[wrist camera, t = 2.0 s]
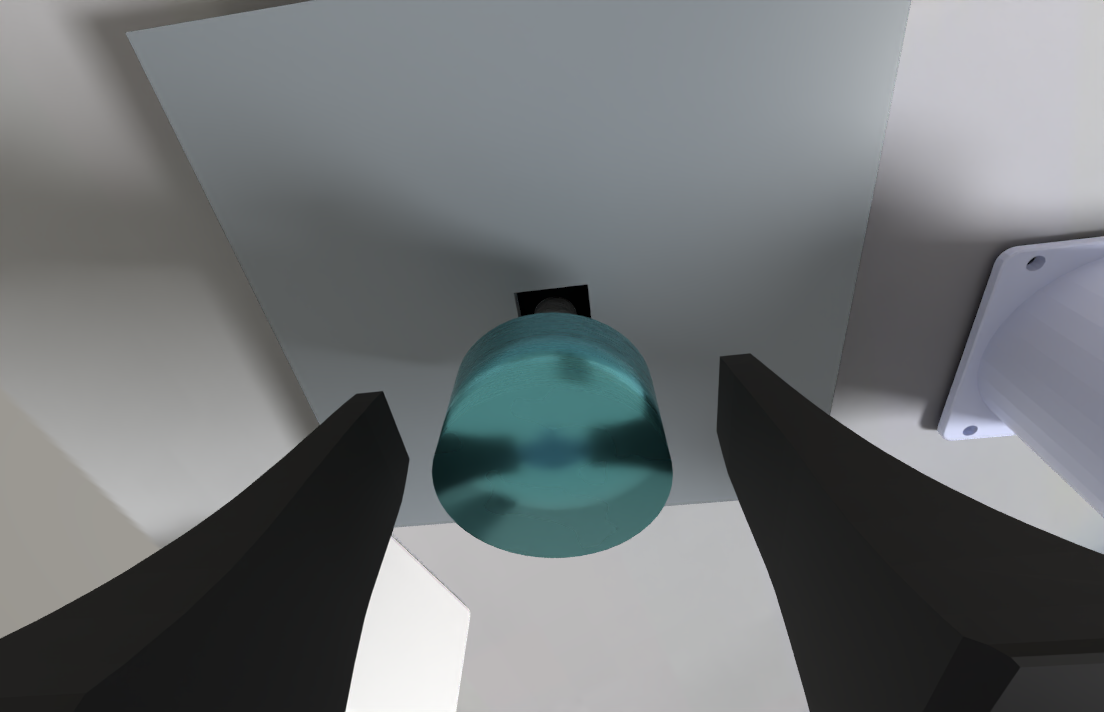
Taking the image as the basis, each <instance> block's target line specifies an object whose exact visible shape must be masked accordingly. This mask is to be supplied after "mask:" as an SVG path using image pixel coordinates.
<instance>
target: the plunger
mask: <svg viewBox="0 0 1104 712" xmlns="http://www.w3.org/2000/svg"><path fill="white" fill-rule="evenodd" d="M432 479H433V485H434V488H435V492H436V495H437V497H438V499H439V501H440V503H441V505H442V506H443V508H444V509H445V511H446V512H447V514H448V515H449V516H450V517H451V518H452V519H453V520H454V521H455V522H456V523H457V524H458V525H459V526H460V527H462V528H463V529H464V530H465V531H467V532H468V533H470V534H471V535H473V536H474V537H476V538H477V539H479V540H481V541H483V542H485V543H487V544H489V545H492V546H494V547H497V548H499V549H502V550H505V551H509V552H512V553H516V554H521V555H526V556H533V557H544V558H566V557H575V556H582V555H587V554H592V553H596V552H600V551H603V550H606V549H609V548H612V547H614V546H617V545H619V544H621V543H623V542H625V541H627V540H629V539H631V538H632V537H634V536H635V535H637V534H638V533H640V532H641V531H642V530H643V529H645V528H646V527H647V526H648V525H649V524H650V523H651V522H652V521H653V520H654V519H655V518H656V517H657V516H658V514H659V513H660V511H661V510H662V508H663V507H664V505H665V503H666V501H667V499H668V497H669V494H670V491H671V487H672V480H673V469H672V461H671V457H670V452H669V448H668V444H667V440H666V436H665V432H664V427H663V423H662V419H661V415H660V411H659V407H658V402H657V398H656V394H655V390H654V386H653V382H652V378H651V374H650V371H649V368H648V366H647V364H646V362H645V360H644V358H643V356H642V355H641V354H640V352H639V351H638V349H637V348H636V347H635V346H634V345H633V344H632V343H631V342H630V341H629V340H628V339H627V338H626V337H625V336H623V335H622V334H621V333H620V332H618V331H616V330H615V329H613V328H611V327H610V326H608V325H606V324H604V323H601V322H599V321H597V320H594V319H591V318H588V317H584V316H581V315H577V313H576V309H575V307H574V305H573V304H572V303H571V302H570V301H568V300H567V299H565V298H562V297H549V298H546V299H544V300H542V301H541V302H540V303H539V304H538V305H537V307H536V309H535V312H534V314H531V315H525V316H522V317H518V318H515V319H512V320H509V321H507V322H505V323H503V324H500V325H498V326H497V327H495V328H493V329H492V330H490V331H488V332H487V333H486V334H485V335H483V336H482V337H481V338H480V339H478V340H477V342H476V343H475V344H474V345H473V346H472V347H471V348H470V349H469V351H468V352H467V354H466V355H465V357H464V358H463V360H462V362H461V365H460V367H459V370H458V373H457V376H456V380H455V384H454V387H453V391H452V394H451V398H450V401H449V405H448V408H447V412H446V415H445V419H444V422H443V426H442V430H441V433H440V437H439V440H438V444H437V447H436V451H435V454H434V458H433V464H432Z"/></svg>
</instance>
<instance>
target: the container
mask: <svg viewBox="0 0 1104 712" xmlns="http://www.w3.org/2000/svg"><path fill="white" fill-rule="evenodd" d="M469 621H470V610H469V609H468V608H467V607H466V606H465V605H464V604H463V603H462V602H461V601H460V600H459V599H458V598H457V597H456V596H455V595H454V594H453V593H452V592H450V591H449V590H448V589H447V588H446V587H445V586H444V585H443V584H442V583H441V582H440V581H439V580H438V579H437V578H436V577H435V576H434V575H432V574H431V573H430V572H429V571H428V570H427V569H426V568H425V567H424V566H423V565H422V564H421V563H420V562H419V561H418V560H417V559H416V558H414V557H413V556H412V555H411V554H410V553H409V552H408V551H407V550H406V549H405V548H404V547H403V546H402V545H401V544H400V543H399V542H398V541H396V540H395V539H394V538H393V537H392V536H391V538H390V541H389V544H388V547H387V550H386V553H385V556H384V559H383V562H382V565H381V568H380V571H379V574H378V577H377V580H376V583H375V586H374V589H373V592H372V595H371V598H370V602H369V605H368V609H367V612H366V616H365V620H364V624H363V629H362V633H361V638H360V642H359V647H358V651H357V656H356V660H355V665H354V670H353V675H352V681H351V686H350V691H349V696H348V701H347V706H346V711H345V712H456V708H457V702H458V695H459V688H460V682H461V675H462V668H463V662H464V655H465V648H466V641H467V635H468V628H469Z"/></svg>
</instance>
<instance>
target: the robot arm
mask: <svg viewBox="0 0 1104 712" xmlns="http://www.w3.org/2000/svg"><path fill="white" fill-rule="evenodd" d="M1034 257H1036V258H1035V259H1034V261H1033V262H1032V263H1030V264H1029V265H1027V263H1028V262H1029V261H1030V260H1031V259H1032V258H1034ZM716 431H717V435H718V439H719V443H720V447H721V451H722V455H723V458H724V462H725V465H726V469H727V473H728V475H729V478H730V480H731V483H732V485H733V488H734V490H735V493H736V495H737V498H738V500H739V503H740V505H741V507H742V510H743V512H744V515H745V517H746V520H747V522H748V524H749V527H750V529H751V532H752V534H753V536H754V539H755V541H756V544H757V546H758V548H759V551H760V553H761V556H762V558H763V561H764V563H765V565H766V568H767V570H768V573H769V576H770V579H771V581H772V584H773V587H774V590H775V593H776V596H777V599H778V603H779V606H780V609H781V613H782V616H783V619H784V622H785V626H786V629H787V632H788V636H789V639H790V643H791V646H792V650H793V653H794V657H795V660H796V664H797V667H798V671H799V674H800V678H801V681H802V685H803V688H804V692H805V695H806V699H807V703H808V707H809V710H810V712H1104V554H1101V553H1098V552H1095V551H1093V550H1090V549H1087V548H1085V547H1082V546H1080V545H1077V544H1075V543H1072V542H1070V541H1068V540H1065V539H1063V538H1060V537H1058V536H1055V535H1053V534H1051V533H1048V532H1046V531H1043V530H1041V529H1038V528H1036V527H1034V526H1031V525H1029V524H1026V523H1024V522H1022V521H1020V520H1017V519H1015V518H1013V517H1011V516H1008V515H1006V514H1004V513H1002V512H999V511H997V510H995V509H993V508H991V507H988V506H986V505H984V504H982V503H980V502H978V501H976V500H974V499H972V498H970V497H968V496H966V495H964V494H962V493H960V492H958V491H955V490H953V489H951V488H949V487H947V486H945V485H943V484H942V483H940V482H938V481H936V480H934V479H932V478H930V477H928V476H926V475H924V474H923V473H921V472H919V471H917V470H916V469H914V468H912V467H910V466H909V465H907V464H905V463H903V462H901V461H900V460H898V459H896V458H894V457H893V456H891V455H889V454H887V453H886V452H884V451H883V450H881V449H879V448H878V447H876V446H874V445H873V444H871V443H870V442H868V441H867V440H865V439H864V438H862V437H861V436H859V435H858V434H856V433H855V432H853V431H852V430H850V429H849V428H847V427H846V426H844V425H843V424H841V423H840V422H838V421H837V420H835V419H834V418H833V417H831V416H830V415H828V414H827V413H826V412H824V411H823V410H821V409H820V408H819V407H817V406H816V405H815V404H813V403H812V402H811V401H809V400H808V399H807V398H805V397H804V396H803V395H802V394H800V393H799V392H798V391H796V390H795V389H794V388H793V387H791V386H790V385H789V384H788V383H786V382H785V381H784V380H783V379H781V378H780V377H779V376H778V375H776V374H775V373H774V372H773V371H772V370H770V369H769V368H768V367H767V366H765V365H764V364H763V363H762V362H761V361H759V360H758V359H757V358H756V357H754V356H753V355H752V354H751V353H748V354H738V355H728V356H720V364H719V386H718V408H717V430H716ZM937 431H938V432H939V434H940V435H941V436H942V437H943V438H944V439H946V440H964V439H975V438H987V437H999V436H1011V435H1017V436H1018V437H1019V438H1020V439H1021V440H1022V441H1023V442H1024V443H1025V444H1026V445H1027V446H1029V447H1030V448H1031V449H1032V450H1033V451H1034V452H1035V453H1036V454H1037V455H1038V456H1039V457H1040V458H1041V459H1042V460H1043V461H1044V462H1045V463H1046V464H1047V465H1049V466H1050V467H1051V468H1052V469H1053V470H1054V471H1055V472H1056V473H1057V474H1058V475H1059V476H1060V477H1061V478H1062V479H1063V480H1064V481H1065V482H1066V483H1068V484H1069V485H1070V486H1071V487H1072V488H1073V489H1074V490H1075V491H1076V492H1077V493H1078V494H1079V495H1080V496H1081V497H1082V498H1083V499H1084V500H1085V501H1086V502H1088V503H1089V504H1090V505H1091V506H1092V507H1093V508H1094V509H1095V510H1096V511H1097V512H1098V513H1099V514H1100V515H1101V516H1102V517H1103V518H1104V236H1101V237H1093V238H1084V239H1075V240H1067V241H1058V242H1049V243H1040V244H1032V245H1023V246H1016V247H1012V248H1009V249H1007V250H1006V251H1004V252H1002V253H1001V254H1000V255H999V256H998V258H997V259H996V261H995V263H994V266H993V269H992V272H991V275H990V277H989V280H988V283H987V286H986V289H985V292H984V295H983V298H982V300H981V303H980V306H979V309H978V312H977V315H976V318H975V321H974V324H973V326H972V329H971V332H970V335H969V338H968V341H967V344H966V347H965V349H964V352H963V355H962V358H961V361H960V364H959V367H958V370H957V373H956V375H955V378H954V381H953V384H952V387H951V390H950V393H949V396H948V398H947V401H946V404H945V407H944V410H943V413H942V416H941V419H940V422H939V424H938V429H937ZM409 460H410V459H409V456H408V453H407V451H406V448H405V446H404V443H403V441H402V438H401V436H400V433H399V430H398V428H397V425H396V423H395V420H394V418H393V415H392V413H391V410H390V407H389V405H388V402H387V400H386V397H385V395H384V392H383V391H378V392H368V393H358V394H355V395H354V396H353V397H351V398H350V399H349V400H348V401H346V402H345V403H344V404H343V405H342V406H341V407H339V408H338V409H337V410H336V411H335V412H334V413H333V414H332V415H330V416H329V417H328V418H327V419H326V420H325V421H324V422H323V423H322V424H320V425H319V426H318V427H317V428H316V429H315V430H314V431H313V432H312V433H310V434H309V435H308V436H307V437H306V438H305V439H304V440H303V441H302V442H300V443H299V444H298V445H297V446H296V447H295V448H294V449H293V450H291V451H290V452H289V453H288V454H287V455H286V456H285V457H284V458H282V459H281V460H280V461H279V462H278V463H276V464H275V465H274V466H273V467H272V468H270V469H269V470H268V471H267V472H266V473H264V474H263V475H262V476H261V477H260V478H258V479H257V480H256V481H255V482H253V483H252V484H251V485H250V486H249V487H247V488H246V489H245V490H244V491H243V492H241V493H240V494H239V495H238V496H236V497H235V498H234V499H232V500H231V501H230V502H228V503H227V504H226V505H224V506H223V507H222V508H220V509H219V510H218V511H216V512H215V513H214V514H212V515H211V516H209V517H208V518H207V519H205V520H204V521H202V522H201V523H200V524H198V525H197V526H195V527H194V528H193V529H191V530H190V531H188V532H187V533H185V534H184V535H182V536H181V537H179V538H178V539H176V540H175V541H173V542H171V543H170V544H168V545H167V546H165V547H163V548H162V549H160V550H159V551H157V552H156V553H154V554H152V555H151V556H149V557H148V558H146V559H145V560H143V561H141V562H140V563H138V564H137V565H135V566H134V567H132V568H130V569H129V570H127V571H125V572H124V573H122V574H120V575H119V576H117V577H115V578H114V579H112V580H110V581H109V582H107V583H105V584H103V585H101V586H100V587H98V588H96V589H94V590H93V591H91V592H89V593H87V594H86V595H84V596H82V597H80V598H78V599H76V600H74V601H73V602H71V603H69V604H67V605H65V606H63V607H62V608H60V609H58V610H56V611H54V612H53V613H51V614H49V615H47V616H45V617H43V618H41V619H39V620H37V621H35V622H33V623H31V624H29V625H27V626H25V627H23V628H21V629H19V630H17V631H15V632H13V633H11V634H9V635H7V636H5V637H3V638H1V639H0V712H345V711H346V706H347V701H348V696H349V691H350V686H351V681H352V675H353V670H354V665H355V660H356V656H357V651H358V647H359V642H360V638H361V633H362V629H363V624H364V620H365V616H366V612H367V609H368V605H369V602H370V598H371V595H372V592H373V589H374V586H375V583H376V580H377V577H378V574H379V571H380V568H381V565H382V562H383V559H384V556H385V553H386V550H387V547H388V544H389V541H390V538H391V535H392V531H393V528H394V525H395V522H396V519H397V516H398V513H399V510H400V506H401V503H402V499H403V494H404V489H405V484H406V479H407V472H408V466H409Z"/></svg>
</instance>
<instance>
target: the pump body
mask: <svg viewBox="0 0 1104 712" xmlns="http://www.w3.org/2000/svg"><path fill="white" fill-rule="evenodd" d="M910 5H911V0H312V1H306V2H300V3H295V4H289V5H283V6H277V7H271V8H265V9H260V10H254V11H248V12H242V13H236V14H230V15H225V16H219V17H213V18H207V19H201V20H195V21H190V22H184V23H178V24H172V25H166V26H160V27H155V28H149V29H143V30H137V31H131V32H125V33H126V35H127V37H128V39H129V41H130V43H131V45H132V47H133V49H134V51H135V53H136V55H137V57H138V59H139V62H140V64H141V66H142V68H143V70H144V72H145V74H146V76H147V78H148V80H149V82H150V84H151V86H152V88H153V90H154V92H155V94H156V96H157V98H158V100H159V102H160V104H161V106H162V108H163V110H164V112H165V114H166V116H167V118H168V120H169V122H170V124H171V126H172V128H173V130H174V132H175V134H176V136H177V138H178V140H179V142H180V144H181V146H182V148H183V150H184V152H185V154H186V156H187V158H188V160H189V162H190V164H191V166H192V168H193V170H194V173H195V175H196V177H197V179H198V181H199V183H200V185H201V187H202V189H203V191H204V193H205V195H206V197H207V199H208V201H209V203H210V205H211V207H212V209H213V211H214V213H215V215H216V217H217V219H218V221H219V223H220V225H221V227H222V229H223V231H224V233H225V235H226V237H227V239H228V241H229V243H230V245H231V247H232V249H233V251H234V253H235V255H236V257H237V259H238V261H239V263H240V265H241V267H242V269H243V271H244V273H245V275H246V277H247V279H248V281H249V283H250V286H251V288H252V290H253V292H254V294H255V296H256V298H257V300H258V302H259V304H260V306H261V308H262V310H263V312H264V314H265V316H266V318H267V320H268V322H269V324H270V326H271V328H272V330H273V332H274V334H275V336H276V338H277V340H278V342H279V344H280V346H281V348H282V350H283V352H284V354H285V356H286V358H287V360H288V362H289V364H290V366H291V368H292V370H293V372H294V374H295V376H296V378H297V380H298V382H299V384H300V386H301V388H302V390H303V392H304V394H305V397H306V399H307V401H308V403H309V405H310V407H311V409H312V411H313V413H314V415H315V417H316V419H317V421H318V423H319V425H320V424H322V423H323V422H324V421H325V420H326V419H327V418H328V417H329V416H330V415H332V414H333V413H334V412H335V411H336V410H337V409H338V408H339V407H341V406H342V405H343V404H344V403H345V402H346V401H348V400H349V399H350V398H351V397H353V396H354V395H355V394H358V393H368V392H378V391H383V392H384V395H385V397H386V400H387V402H388V405H389V407H390V410H391V413H392V415H393V418H394V420H395V423H396V425H397V428H398V430H399V433H400V436H401V438H402V441H403V443H404V446H405V448H406V451H407V453H408V456H409V459H410V460H409V466H408V472H407V479H406V484H405V489H404V494H403V499H402V503H401V506H400V510H399V513H398V516H397V519H396V522H395V525H394V527H406V526H419V525H431V524H444V523H456V522H455V521H454V520H453V519H452V518H451V517H450V516H449V515H448V514H447V512H446V511H445V509H444V508H443V506H442V505H441V503H440V501H439V499H438V497H437V495H436V492H435V488H434V485H433V479H432V464H433V458H434V454H435V451H436V447H437V444H438V440H439V437H440V433H441V430H442V426H443V422H444V419H445V415H446V412H447V408H448V405H449V401H450V398H451V394H452V391H453V387H454V384H455V380H456V376H457V373H458V370H459V367H460V365H461V362H462V360H463V358H464V357H465V355H466V354H467V352H468V351H469V349H470V348H471V347H472V346H473V345H474V344H475V343H476V342H477V340H478V339H480V338H481V337H482V336H483V335H485V334H486V333H487V332H488V331H490V330H492V329H493V328H495V327H497V326H498V325H500V324H503V323H505V322H507V321H509V320H512V319H515V318H518V317H521V313H520V308H519V303H518V298H517V292H526V291H534V290H543V289H551V288H560V287H569V286H577V285H586V284H588V292H589V301H590V310H591V319H594V320H597V321H599V322H601V323H604V324H606V325H608V326H610V327H611V328H613V329H615V330H616V331H618V332H620V333H621V334H622V335H623V336H625V337H626V338H627V339H628V340H629V341H630V342H631V343H632V344H633V345H634V346H635V347H636V348H637V349H638V351H639V352H640V354H641V355H642V356H643V358H644V360H645V362H646V364H647V366H648V368H649V371H650V374H651V378H652V382H653V386H654V390H655V394H656V398H657V402H658V407H659V411H660V415H661V419H662V423H663V427H664V432H665V436H666V440H667V444H668V448H669V452H670V457H671V461H672V469H673V480H672V487H671V491H670V494H669V497H668V499H667V501H666V503H665V505H664V506H673V505H685V504H698V503H711V502H723V501H736V500H738V498H737V495H736V493H735V490H734V488H733V485H732V483H731V480H730V478H729V475H728V473H727V469H726V465H725V462H724V458H723V455H722V451H721V447H720V443H719V439H718V435H717V431H716V430H717V408H718V386H719V364H720V356H728V355H738V354H748V353H751V354H752V355H753V356H754V357H756V358H757V359H758V360H759V361H761V362H762V363H763V364H764V365H765V366H767V367H768V368H769V369H770V370H772V371H773V372H774V373H775V374H776V375H778V376H779V377H780V378H781V379H783V380H784V381H785V382H786V383H788V384H789V385H790V386H791V387H793V388H794V389H795V390H796V391H798V392H799V393H800V394H802V395H803V396H804V397H805V398H807V399H808V400H809V401H811V402H812V403H813V404H815V405H816V406H817V407H819V408H820V409H821V410H823V411H824V412H826V413H827V414H828V415H830V412H831V407H832V402H833V397H834V391H835V386H836V381H837V376H838V371H839V366H840V361H841V356H842V351H843V346H844V341H845V336H846V330H847V325H848V320H849V315H850V310H851V305H852V300H853V295H854V290H855V285H856V280H857V274H858V269H859V264H860V259H861V254H862V249H863V244H864V239H865V234H866V229H867V224H868V219H869V213H870V208H871V203H872V198H873V193H874V188H875V183H876V178H877V173H878V168H879V163H880V157H881V152H882V147H883V142H884V137H885V132H886V127H887V122H888V117H889V112H890V107H891V101H892V96H893V91H894V86H895V81H896V76H897V71H898V66H899V61H900V56H901V51H902V46H903V40H904V35H905V30H906V25H907V20H908V15H909V10H910Z"/></svg>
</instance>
